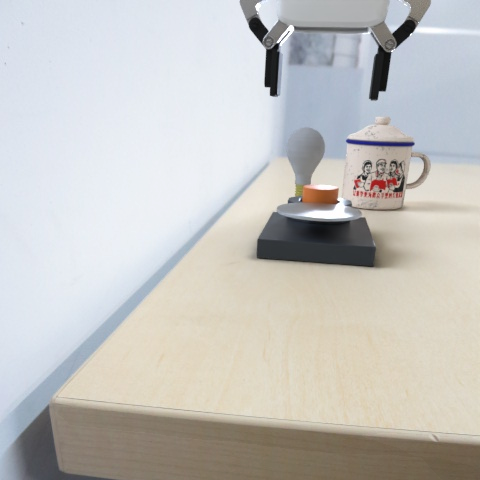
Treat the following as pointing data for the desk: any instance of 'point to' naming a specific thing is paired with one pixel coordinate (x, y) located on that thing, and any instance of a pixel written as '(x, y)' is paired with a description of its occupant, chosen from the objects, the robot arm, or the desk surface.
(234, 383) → the desk surface
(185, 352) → the desk surface
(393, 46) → the robot arm
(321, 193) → the short orange cylinder
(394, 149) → the teacup with lid
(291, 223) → the scale
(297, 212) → the weigh plate
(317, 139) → the light bulb
